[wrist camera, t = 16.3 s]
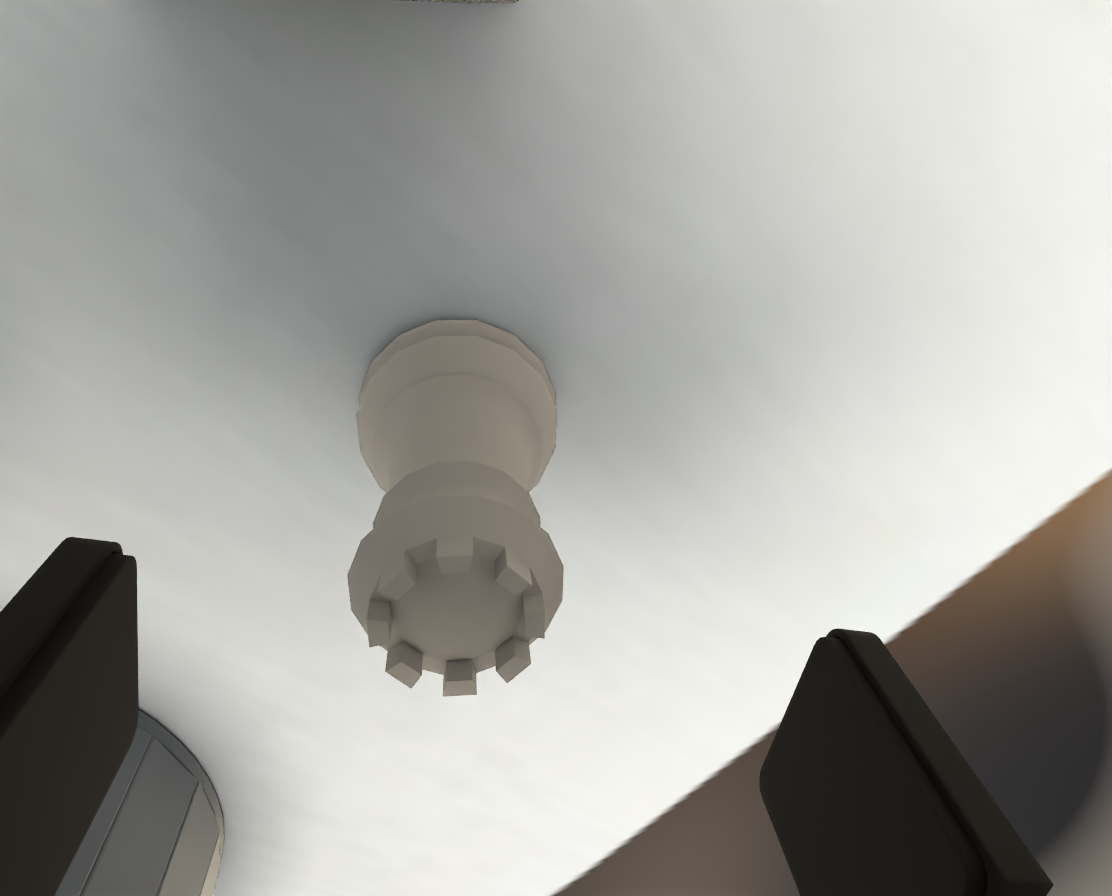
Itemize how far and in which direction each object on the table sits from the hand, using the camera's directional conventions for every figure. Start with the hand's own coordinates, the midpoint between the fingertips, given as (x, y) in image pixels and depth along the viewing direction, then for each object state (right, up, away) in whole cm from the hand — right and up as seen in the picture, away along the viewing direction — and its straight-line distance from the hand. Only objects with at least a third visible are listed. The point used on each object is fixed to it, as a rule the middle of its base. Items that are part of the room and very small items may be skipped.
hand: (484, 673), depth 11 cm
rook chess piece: (-1, +4, +8) cm, 9 cm away
